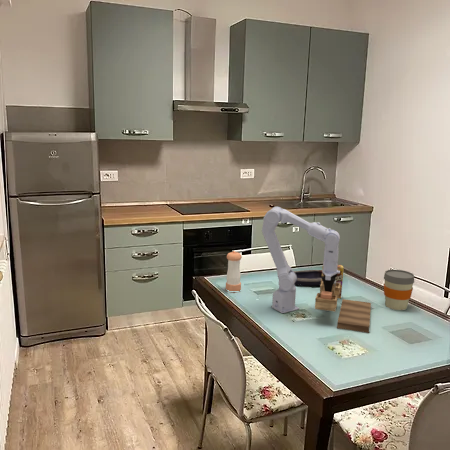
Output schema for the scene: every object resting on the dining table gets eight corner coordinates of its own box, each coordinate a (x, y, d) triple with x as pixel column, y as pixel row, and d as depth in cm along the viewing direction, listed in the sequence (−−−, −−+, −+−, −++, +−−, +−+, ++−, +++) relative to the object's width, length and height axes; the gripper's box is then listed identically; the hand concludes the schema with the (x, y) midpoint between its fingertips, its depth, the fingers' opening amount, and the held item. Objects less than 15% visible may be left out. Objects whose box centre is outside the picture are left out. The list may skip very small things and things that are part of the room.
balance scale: (335, 311, 182) (336, 294, 181) (314, 308, 185) (315, 292, 183) (340, 292, 203) (341, 277, 201) (321, 290, 205) (322, 275, 204)
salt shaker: (239, 293, 217) (240, 253, 213) (224, 291, 218) (225, 252, 214) (242, 287, 224) (243, 249, 220) (227, 286, 225) (228, 248, 221)
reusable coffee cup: (378, 308, 202) (381, 275, 199) (383, 298, 213) (386, 267, 210) (409, 314, 197) (413, 280, 193) (412, 304, 207) (416, 272, 204)
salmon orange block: (330, 302, 184) (331, 295, 183) (320, 301, 185) (321, 294, 184) (331, 299, 187) (332, 292, 187) (321, 297, 189) (322, 290, 188)
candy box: (322, 299, 211) (325, 267, 208) (319, 296, 215) (321, 264, 212) (341, 298, 212) (344, 266, 209) (338, 295, 216) (340, 264, 213)
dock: (368, 332, 178) (369, 326, 177) (336, 328, 181) (337, 322, 181) (370, 308, 202) (370, 302, 201) (342, 304, 206) (342, 299, 205)
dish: (280, 278, 239) (280, 269, 238) (336, 276, 245) (336, 267, 244) (289, 289, 224) (290, 279, 223) (349, 286, 230) (349, 276, 229)
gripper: (339, 266, 182) (336, 298, 185) (342, 256, 196) (339, 287, 198) (321, 264, 184) (318, 296, 187) (325, 254, 198) (323, 285, 201)
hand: (328, 291), depth 193 cm, fingers closed on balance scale, 4 cm apart
